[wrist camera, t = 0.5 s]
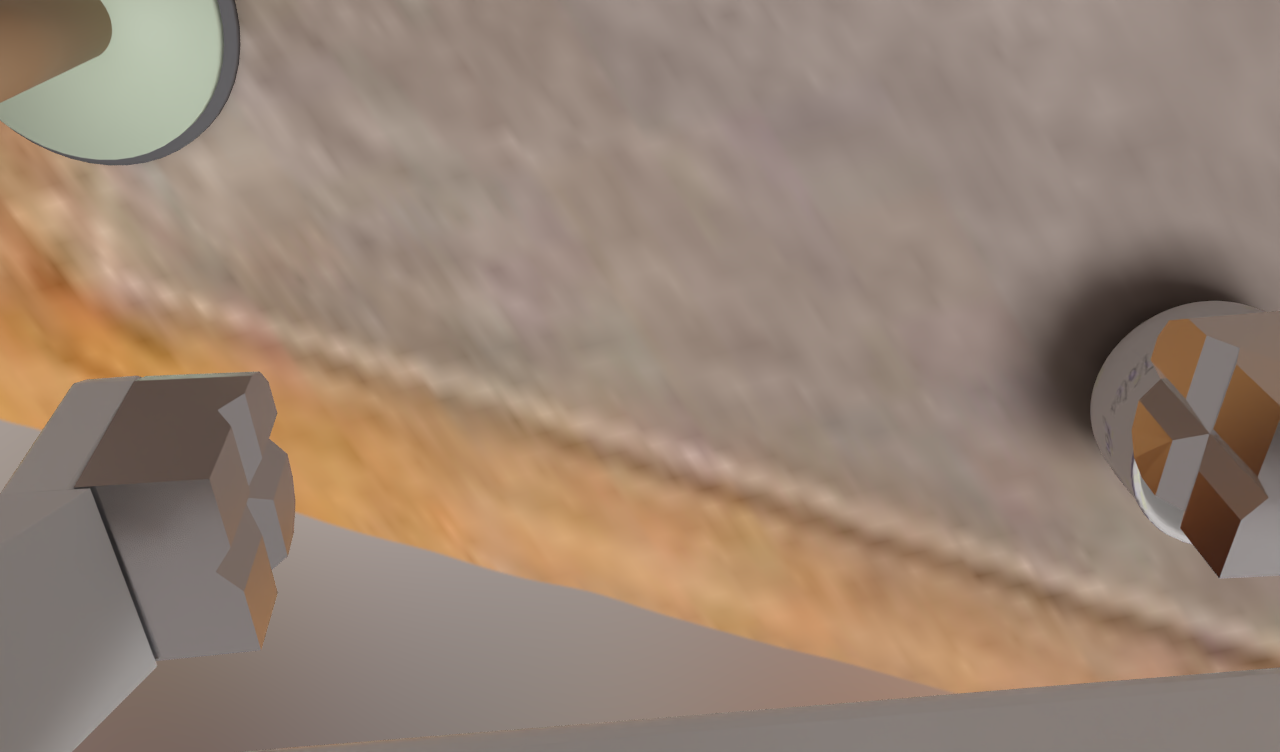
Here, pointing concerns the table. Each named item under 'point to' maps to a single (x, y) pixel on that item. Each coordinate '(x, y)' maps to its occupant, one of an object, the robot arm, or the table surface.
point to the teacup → (1118, 400)
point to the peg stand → (107, 72)
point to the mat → (215, 104)
